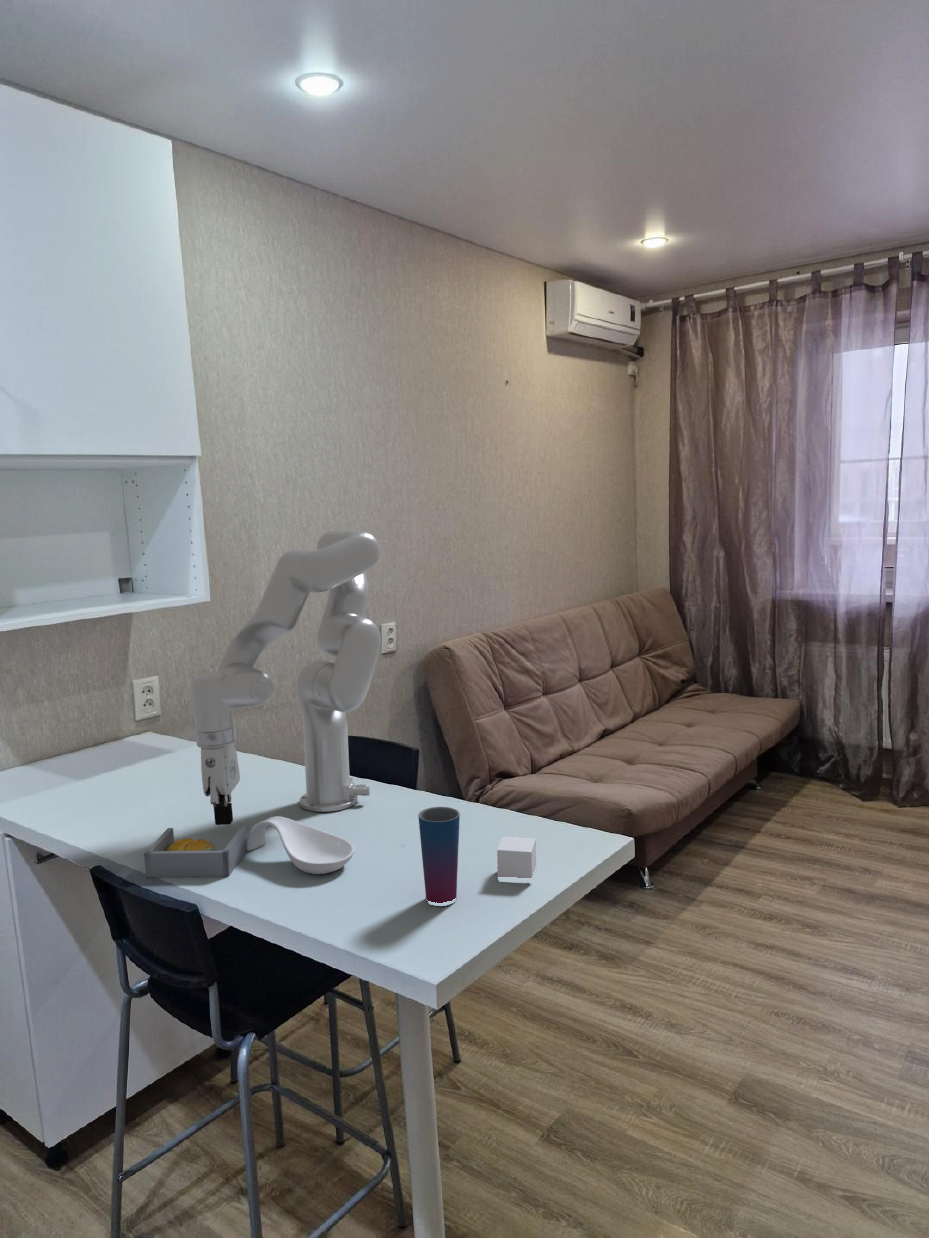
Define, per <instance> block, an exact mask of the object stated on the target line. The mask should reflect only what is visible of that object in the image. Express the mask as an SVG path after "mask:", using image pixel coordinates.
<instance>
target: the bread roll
mask: <svg viewBox="0 0 929 1238" xmlns="http://www.w3.org/2000/svg"><path fill="white" fill-rule="evenodd" d="M166 851H217V850H216V846H215V845H214V844H213V843H211V842H210V841H208V840H207V839H203V838H199V839H195V840H194V839H191V838H187V837H186V838H181V839H178V840H175V841H174V843H172V844H171V845H170V846H169V847H168V848H167V850H166Z"/></svg>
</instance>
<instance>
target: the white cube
mask: <svg viewBox="0 0 929 1238" xmlns="http://www.w3.org/2000/svg"><path fill="white" fill-rule="evenodd" d="M496 851H497V853H496V855H497V857H496V859H497V861H496V863H497V878H498V877H517V878H532V876H533V872H534V870H535V866H536V867H537V838H536V837H534V838H532V837H517V836H502V837H501V839H500V842H499V844H498V847H497V849H496Z"/></svg>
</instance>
